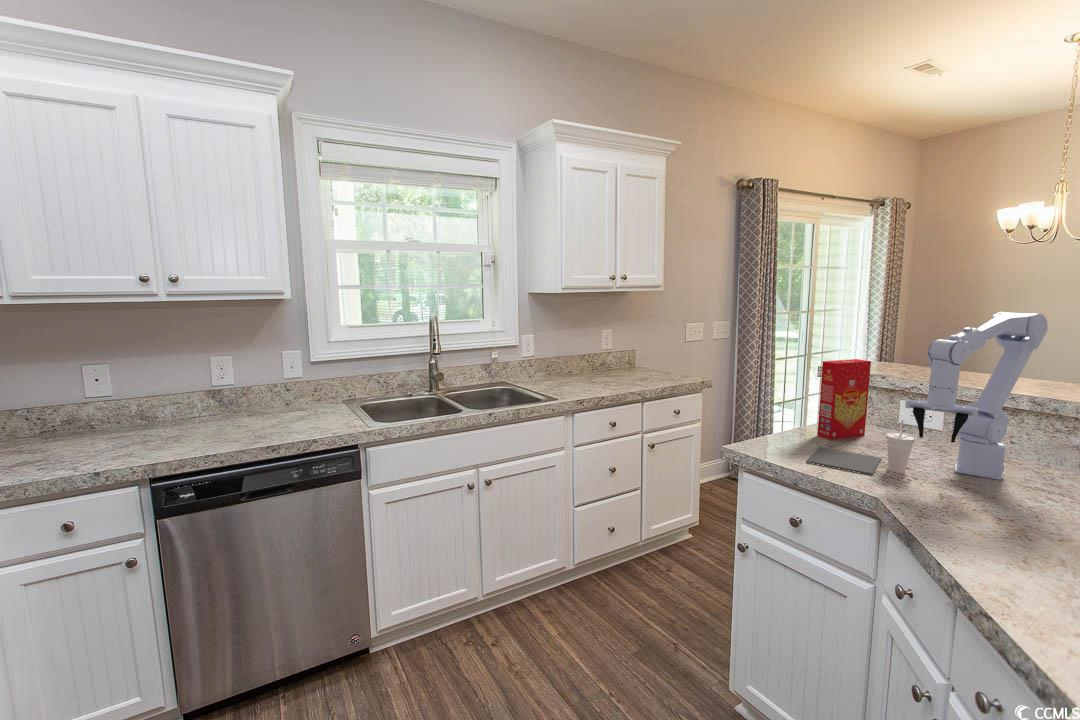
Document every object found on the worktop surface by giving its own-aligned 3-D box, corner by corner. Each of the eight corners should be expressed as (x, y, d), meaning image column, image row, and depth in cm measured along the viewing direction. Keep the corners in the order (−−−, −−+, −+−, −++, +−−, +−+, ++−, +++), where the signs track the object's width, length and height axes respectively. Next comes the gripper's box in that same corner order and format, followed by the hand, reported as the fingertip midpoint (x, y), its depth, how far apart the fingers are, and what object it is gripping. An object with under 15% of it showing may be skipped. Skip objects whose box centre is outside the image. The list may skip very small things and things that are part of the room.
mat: (880, 459, 149) (881, 457, 149) (872, 475, 137) (872, 473, 137) (819, 448, 159) (819, 446, 159) (806, 462, 147) (806, 460, 147)
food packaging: (830, 439, 168) (836, 363, 164) (817, 435, 173) (822, 361, 169) (864, 435, 173) (871, 361, 169) (850, 431, 178) (856, 359, 174)
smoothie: (910, 469, 141) (916, 419, 139) (912, 477, 136) (918, 425, 133) (882, 465, 144) (887, 416, 142) (882, 472, 139) (888, 421, 137)
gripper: (906, 385, 133) (900, 437, 135) (980, 393, 124) (973, 448, 126) (909, 382, 138) (903, 431, 140) (980, 389, 129) (973, 442, 131)
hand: (936, 439), depth 133 cm, fingers open, 6 cm apart
